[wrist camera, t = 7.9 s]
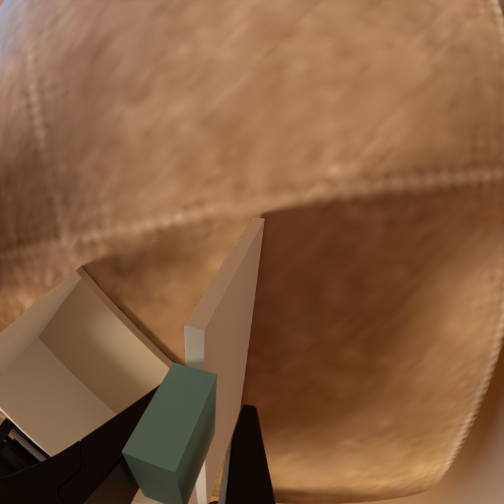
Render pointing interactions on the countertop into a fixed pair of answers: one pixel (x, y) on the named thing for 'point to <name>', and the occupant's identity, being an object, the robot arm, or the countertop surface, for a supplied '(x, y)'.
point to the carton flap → (200, 387)
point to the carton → (75, 366)
